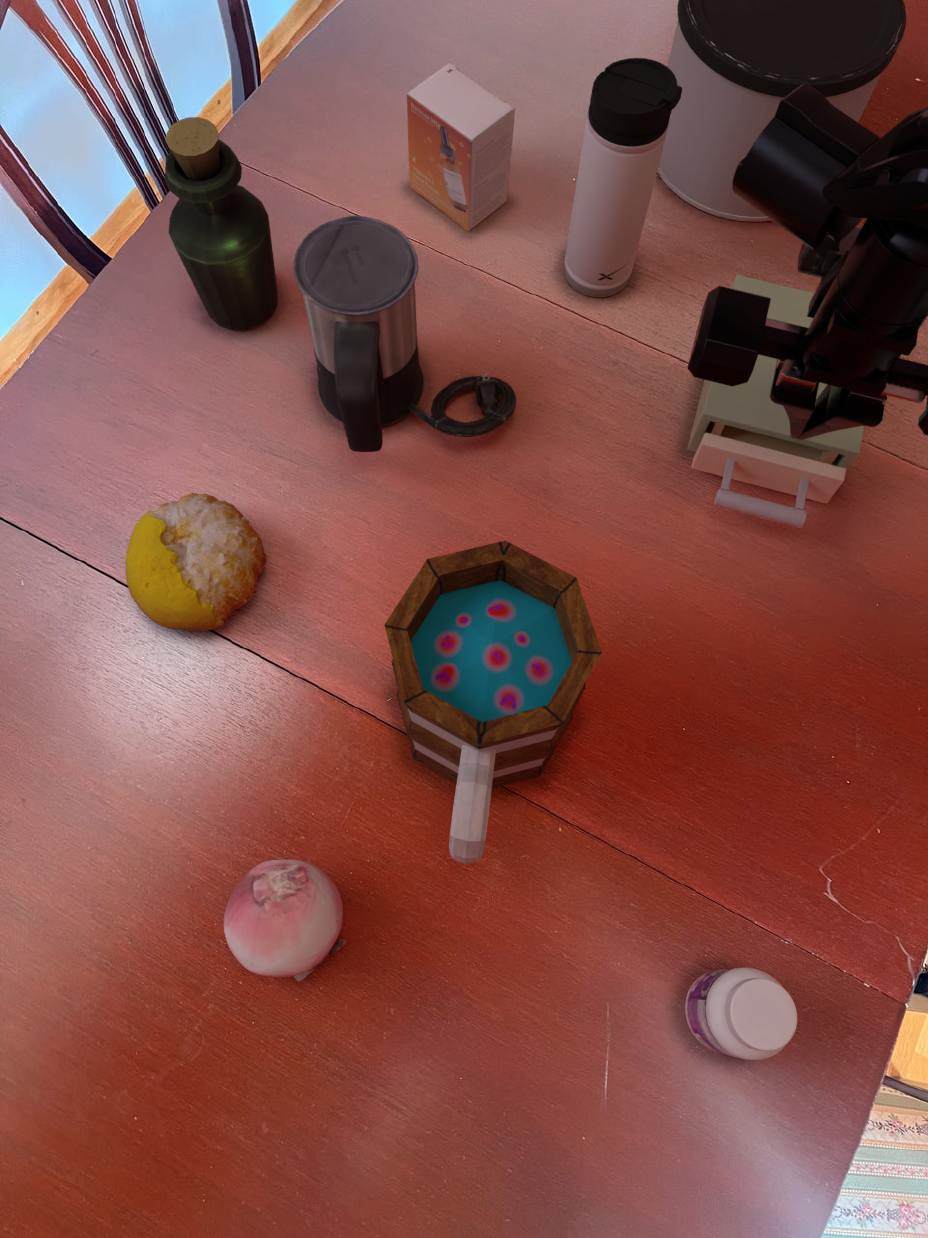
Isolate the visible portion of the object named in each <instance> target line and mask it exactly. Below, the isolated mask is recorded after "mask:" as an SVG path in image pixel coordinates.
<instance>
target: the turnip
mask: <svg viewBox="0 0 928 1238" xmlns="http://www.w3.org/2000/svg"><path fill="white" fill-rule="evenodd" d="M343 922H344V905H343V900H342V897H341V893H340V891H339V889H338V887H337V886H336V884H335V882H334V881H333V879H332V878H331V877H329V875H327V874H326V872H324V870H323V869H321V868H320V867H317V866H316V865H314V864H311V863H310V862H307V861H304V860H301V859H270V860H265V861H262V862H261V863H259V864H256V865H255V866H254V867H252V868H251V869H250V870H249V871H247V872H246V873H245V874H244V875H243V876H242V877H241V878H240V879H239V881H238V882H237V884H236V885H235V887H234V888H233V890H232V893H231V894H230V896H229V899H228V900H227V904H226V906H225V910H224V915H223V931H224V937H225V940H226V943H227V945H228V948H229V950H230V952H231V953H232V955H233V956H234V958H235V959H236V960H237V962H238V963H239V965H241V966H242V967H243V968H244V969H246V970H247V971H249V972H251V973H253V974H254V975H255V974H256V975H259V976H264V977H270V978H271V977H272V978H289V977H293V978H294V979H295V980H296V981H297V982H300V983H301V982H302V981H303V980H304V979H306V978H307V977H308V976H309V975H310V974H311V973H313V971H314V970H316V969H317V968H318V967H319V966H320V965H321V964H322V963H323V961H324V960H325V958H326V957H331V956H333V955H334V954H336V953H337V951H339V950H340V949H341V948H342V947H343V946H344V945H345V944H346V943H347V940H346V939H344V938H343V937H342V938H341V939H340V940H339V939H338V937H339V935H340V932H341V930H342V927H343Z"/></svg>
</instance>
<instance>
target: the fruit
mask: <svg viewBox="0 0 928 1238" xmlns="http://www.w3.org/2000/svg"><path fill="white" fill-rule="evenodd" d="M249 522H250V521H249V519H247V518H246V517H245V516H244V514H243V513H242V512H240V511H239V509H237V508H236V506H235V505H234V504H232V503H231V502H229V501H225V500H219V499H218V498H217V497H216V496H215V495H210V494H207V493H195V492H191V493H188V494H185V495H183V496H181V497H180V498H179V499H178V500H177V501H175V500H174V501H170V502H165V503H162V504H161V505H160V506H159V507H157V509H155V510H149V511H147V512H146V513H144V515H143V516H141V517H140V518H139V520H138V521H137V522H136V523H135V525H134V526H133V530H132V533H131V535H130V539H129V542H128V545H127V550H126V554H125V555H126V556H125V578H126V579H125V580H126V584H127V587H128V591H129V594H130V597H131V599H133V601H134V602H135V603H136V605H137V606H138V608H139V609H140V610H141V611H142V612H143V614H144V615H145V616H146V617H147V618H148V619H149V620H151V622H153V623H155V624H157V625H159V626H161V627H163V628H166V629H168V630H174V631H175V630H176V631H182V632H187V633H188V632H189V633H193V632H195V633H196V632H197V633H201V632H207V631H212V630H216V629H218V628H221V627H223V626H224V621H225V620H227V619H228V618H229V617H230V616H231V615H232V613H233V612H234V611H235V610H237V609H240V608H241V607H243V606H244V604H247V603H249V601H250V600H251V599H252V598H253V596H254V595H255V594H256V593H258V591H257V582H258V577H259V576H260V575H261V573H262V572H263V571H264V569H265V566H266V561H267V557H268V555H267V553H266V552H265V549H264V544H263V541H262V539H261V537H260V535H259V533H258V532H257V530H255V529H254V528H253V527H252V526H251V525H250V523H249Z"/></svg>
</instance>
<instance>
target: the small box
mask: <svg viewBox="0 0 928 1238" xmlns="http://www.w3.org/2000/svg"><path fill="white" fill-rule="evenodd" d="M515 115H516V107H514V106H513V105H511V104H510V103H509V102H507V101H505V100H504V99H502V98H501V97H499V96H497V95H496V94H495V93H493V92H491V91H490V90H488V89H487V88H486V87H485V86H483V85H482V84H481V83H479V82H478V81H476V80H475V79H474V78H471V77H470V76H469V75H468V74H467V73H465V72H464V71H463V70H461V69H460V68H458V66H457V65H455V64H454V63H453V62H448V63H446V64H445V65H443V67H441V68H439V69H438V70H437V71H436V72H434V73H433V74H432V75H430V76H429V77H427V78H426V79H424V80H423V81H421V82H420V83H418V84H417V85H416V86H415V87H413V88H412V89H411V90H410V91H408V92H407V93H406V116H407V117H406V118H407V119H406V122H407V148H408V149H407V151H408V152H407V153H408V154H407V155H408V177H409V178H408V185H409V188H410V189H411V190H413V191H414V192H416V193H417V194H419V195H420V196H421V197H423V198H424V199H425V200H427V201H428V202H429V203H431V204H432V205H433V206H434V207H436V208H437V209H438V210H439V211H440V212H442V213H443V214H445V215H446V216H447V217H449V218H450V219H451V220H452V221H454V222H455V223H456V224H457V225H458V226H460V227H461V228H462V229H463V230H465V231H466V232H470V231H471V230H473V229H474V228H475V227H476V226H478V225H479V224H480V223H481V222H482V221H484V220H485V219H486V218H488V216H490V215H492V214H493V212H495V211H496V210H497V209H499V208H500V207H501V206H502V205H504V204H505V203H507V201H508V195H509V184H510V173H511V172H510V171H511V170H510V169H511V160H512V149H513V139H514V127H515Z"/></svg>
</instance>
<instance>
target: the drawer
mask: <svg viewBox="0 0 928 1238" xmlns="http://www.w3.org/2000/svg"><path fill="white" fill-rule="evenodd" d="M837 456H838V454H837V453H833V452H829V451H825V450H821V449H817V448H814V447H810V446H806V445H802V444H798V443H794V442H790V441H786V440H782V439H778V438H775V437H771V436H767V435H763V434H759V433H755V432H751V431H747V430H743V429H739V428H736V427H732V426H728V425H724V424H720V423H716V422H712V421H711V426H710V430H709V433H705V434H704V436H703V438H702V440H701V442H700V445H699V447H698V449H697V451H696V453H695V452H694V456H693V458H692V459H693V460H692V462H691V463H692V464H691V469H693V470H697V471H700V472H704V473H706V474H707V473H708V474H712V475H715V476H719V477H722V480H721V485H720V487H718V489H717V491H716V494H715V497H714V501H713V505H714V506H716V507H720V508H723V509H727V510H731V511H734V512H738V513H742V514H746V515H749V516H753V517H758V518H761V519H764V520H769V521H773V522H776V523H779V524H784V525H786V526H787V525H788V526H791V527H795V528H799V529H802V528H803V527H804V525H805V522H806V519H807V515H808V511H807V510H805V504H806V500H811V501H815V502H817V503H818V502H819V503H822V504H828V503H829V502H830V500H831V499H832V498H833V496H834V495H835V494H836V492H837V491H838V490H839V488H840V487H841V486H842V484H843V483H844V482H845V479H846V474H847V472H846V468H842V467H838V466H834V465H831V464H832V463H833V461H834V460H835V459H836V457H837ZM732 480H734V481H738V482H741V483H742V482H743V483H746V484H749V485H752V486H753V485H754V486H757V487H761V488H765V489H769V490H772V491H777V492H780V493H783V494H784V493H785V494H788V495H792V496H796V499H795V504H794V507H793V506H790V505H786V504H783V503H778V502H774V501H770V500H766V499H762V498H759V497H756V496H751V495H748V494H744V493H740V492H737V491H736V492H735V491H732V490H730V487H731V483H732Z"/></svg>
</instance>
